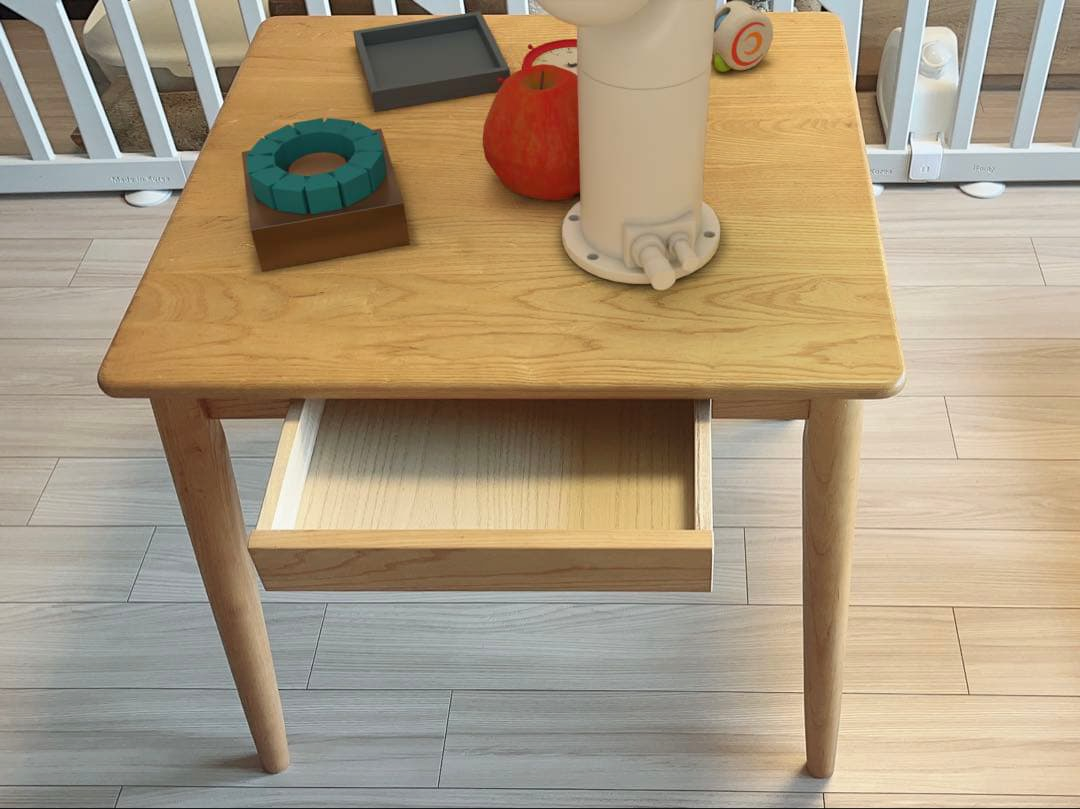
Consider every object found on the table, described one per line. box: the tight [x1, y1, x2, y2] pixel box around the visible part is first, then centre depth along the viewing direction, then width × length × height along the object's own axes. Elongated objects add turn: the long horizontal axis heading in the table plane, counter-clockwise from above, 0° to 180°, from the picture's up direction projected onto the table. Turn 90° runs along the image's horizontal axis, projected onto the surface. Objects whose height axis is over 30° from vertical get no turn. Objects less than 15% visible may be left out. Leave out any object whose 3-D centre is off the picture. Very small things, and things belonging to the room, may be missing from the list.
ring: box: [246, 117, 387, 214], centre depth 91 cm, size 11×11×2 cm
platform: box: [241, 128, 411, 272], centre depth 93 cm, size 12×12×5 cm
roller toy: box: [712, 0, 774, 73], centre depth 109 cm, size 4×6×6 cm
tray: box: [352, 10, 511, 112], centre depth 112 cm, size 13×13×2 cm
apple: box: [482, 64, 580, 201], centre depth 93 cm, size 10×10×10 cm
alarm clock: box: [498, 38, 577, 83], centre depth 105 cm, size 10×6×15 cm
